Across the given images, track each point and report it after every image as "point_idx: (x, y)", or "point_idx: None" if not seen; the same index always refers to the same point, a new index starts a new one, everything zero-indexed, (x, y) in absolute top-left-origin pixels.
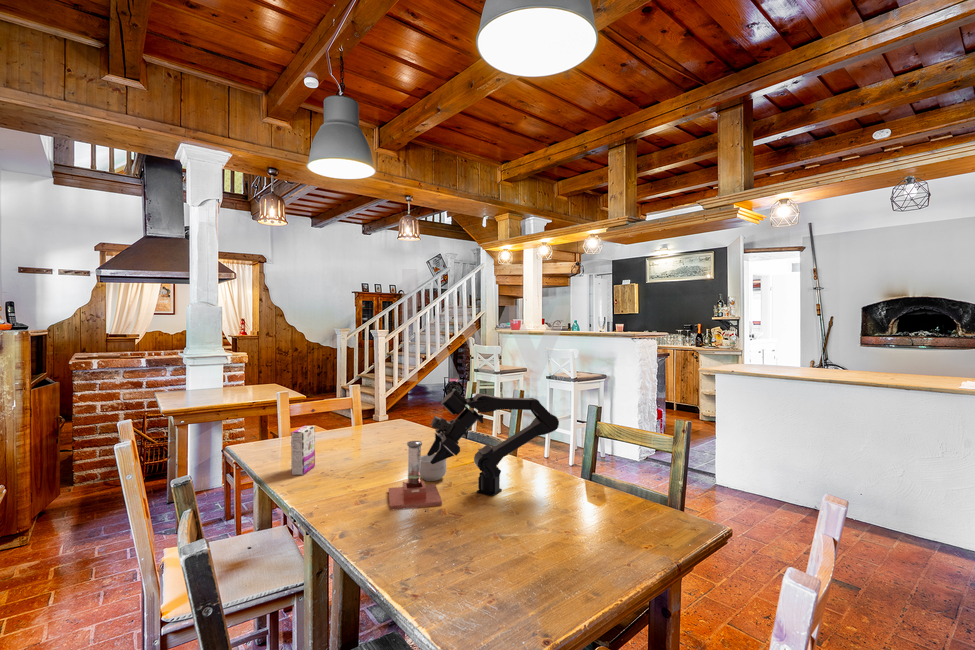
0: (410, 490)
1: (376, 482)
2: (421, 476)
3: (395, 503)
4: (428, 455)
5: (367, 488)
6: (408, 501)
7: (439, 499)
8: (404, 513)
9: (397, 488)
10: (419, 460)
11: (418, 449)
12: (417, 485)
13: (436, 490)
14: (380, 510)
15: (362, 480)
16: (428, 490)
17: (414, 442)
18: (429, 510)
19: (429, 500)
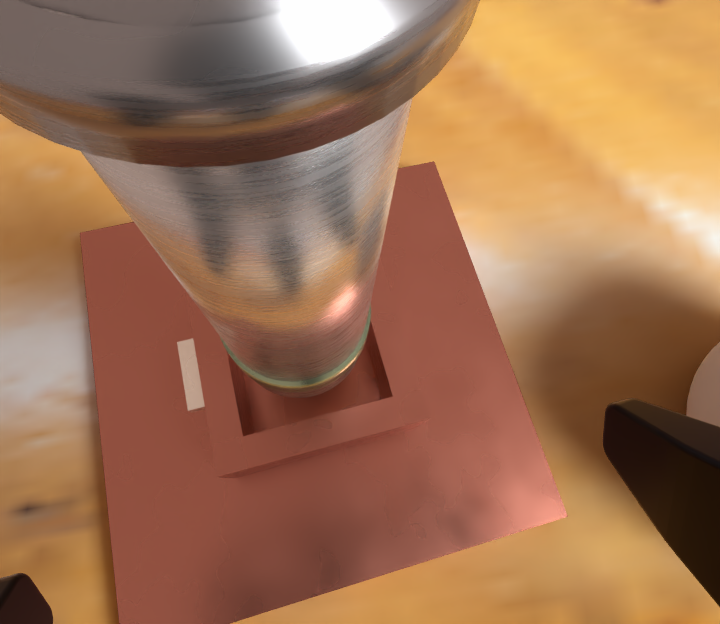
0: (193, 330)
1: (584, 80)
2: (706, 357)
3: (122, 259)
4: (605, 434)
5: (471, 54)
6: (153, 345)
7: (175, 621)
8: (12, 351)
9: (428, 219)
10: (214, 311)
11: (86, 156)
12: (379, 368)
13: (409, 552)
14: (94, 191)
15: (601, 5)
16: (402, 473)
17: None
18: (36, 541)
19: (157, 522)
